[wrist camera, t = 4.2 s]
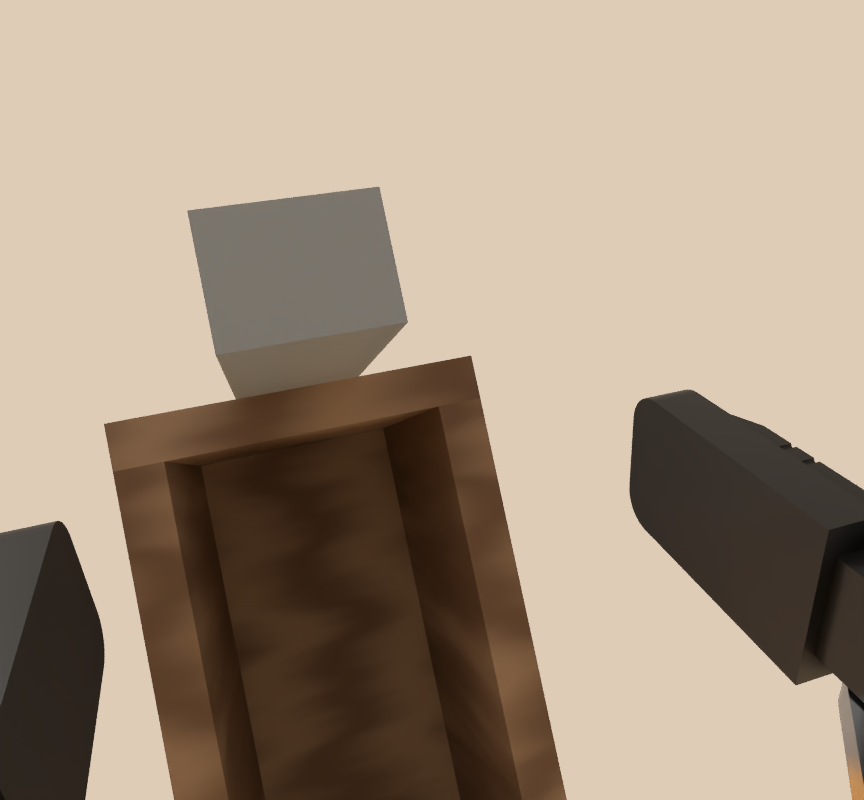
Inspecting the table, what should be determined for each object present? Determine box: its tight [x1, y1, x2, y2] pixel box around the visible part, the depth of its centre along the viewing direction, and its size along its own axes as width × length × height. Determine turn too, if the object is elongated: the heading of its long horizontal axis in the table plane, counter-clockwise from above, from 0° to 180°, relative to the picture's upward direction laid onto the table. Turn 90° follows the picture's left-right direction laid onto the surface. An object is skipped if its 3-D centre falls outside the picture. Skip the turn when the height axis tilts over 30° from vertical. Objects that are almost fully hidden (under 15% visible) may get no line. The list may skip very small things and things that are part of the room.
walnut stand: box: [104, 356, 566, 800], centre depth 30 cm, size 12×14×30 cm
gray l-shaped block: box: [188, 187, 408, 399], centre depth 26 cm, size 5×22×8 cm, turn 13°
